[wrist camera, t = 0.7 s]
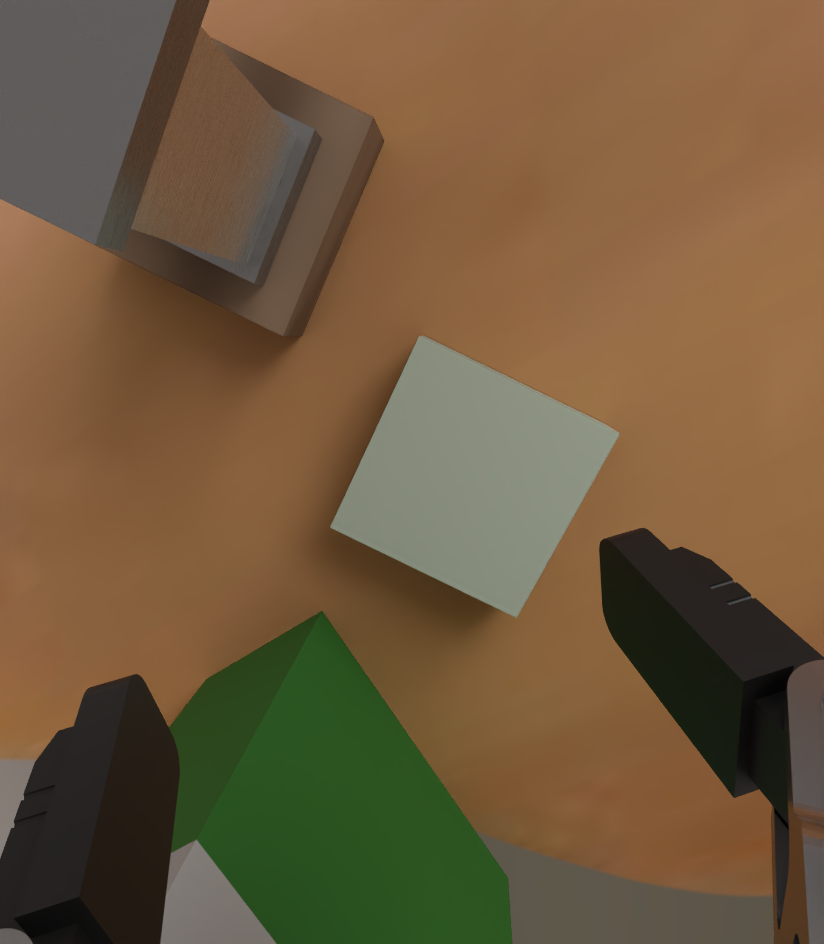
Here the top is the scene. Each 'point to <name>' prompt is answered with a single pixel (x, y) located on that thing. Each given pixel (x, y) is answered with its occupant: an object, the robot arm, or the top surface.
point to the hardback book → (317, 814)
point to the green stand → (472, 476)
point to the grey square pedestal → (144, 131)
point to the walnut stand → (313, 220)
